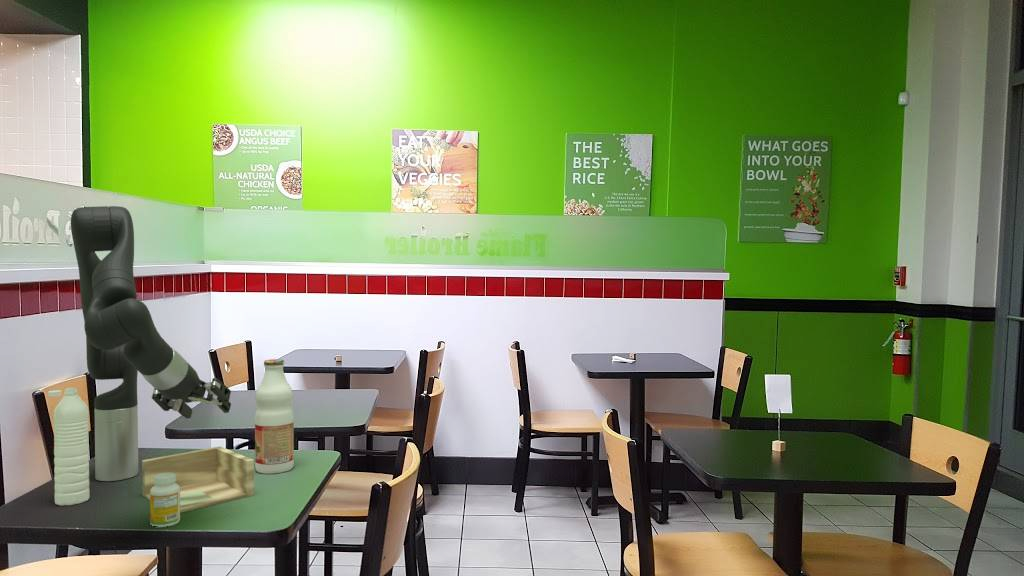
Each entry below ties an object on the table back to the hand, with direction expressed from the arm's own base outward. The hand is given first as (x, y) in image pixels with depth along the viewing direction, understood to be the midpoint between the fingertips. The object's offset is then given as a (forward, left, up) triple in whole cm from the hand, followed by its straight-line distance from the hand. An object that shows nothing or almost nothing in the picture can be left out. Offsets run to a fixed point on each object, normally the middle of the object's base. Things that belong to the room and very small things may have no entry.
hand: (208, 411), depth 150 cm
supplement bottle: (+3, -10, -21) cm, 23 cm away
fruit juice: (-17, +24, -21) cm, 36 cm away
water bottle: (-25, -20, -21) cm, 38 cm away
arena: (-10, +2, -21) cm, 23 cm away
